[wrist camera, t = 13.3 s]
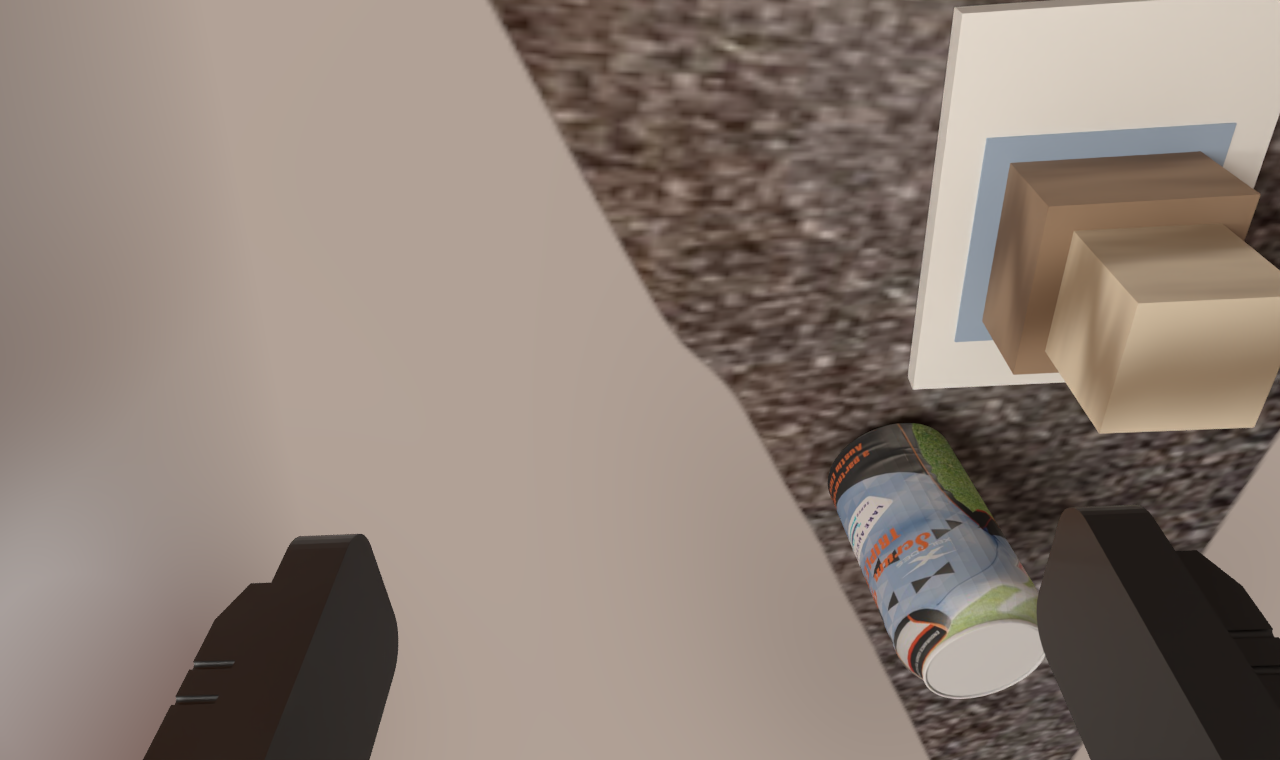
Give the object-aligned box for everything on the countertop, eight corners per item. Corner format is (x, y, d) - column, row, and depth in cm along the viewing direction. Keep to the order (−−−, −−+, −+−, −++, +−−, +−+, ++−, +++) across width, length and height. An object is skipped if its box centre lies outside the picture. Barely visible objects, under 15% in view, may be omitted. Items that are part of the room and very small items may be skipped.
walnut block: (1010, 162, 33) (1048, 206, 30) (1200, 151, 33) (1260, 194, 30) (982, 321, 37) (1013, 374, 34) (1151, 312, 37) (1199, 365, 34)
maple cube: (1073, 231, 31) (1138, 303, 27) (1221, 223, 30) (1310, 295, 26) (1044, 351, 33) (1099, 433, 29) (1180, 345, 33) (1254, 427, 29)
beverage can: (844, 397, 41) (903, 597, 31) (994, 421, 42) (1097, 624, 32) (806, 496, 45) (849, 703, 35) (944, 516, 45) (1024, 724, 36)
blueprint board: (954, 7, 31) (963, 14, 30) (1305, -18, 31) (1324, -11, 30) (907, 376, 40) (913, 390, 40) (1177, 363, 40) (1189, 377, 39)
